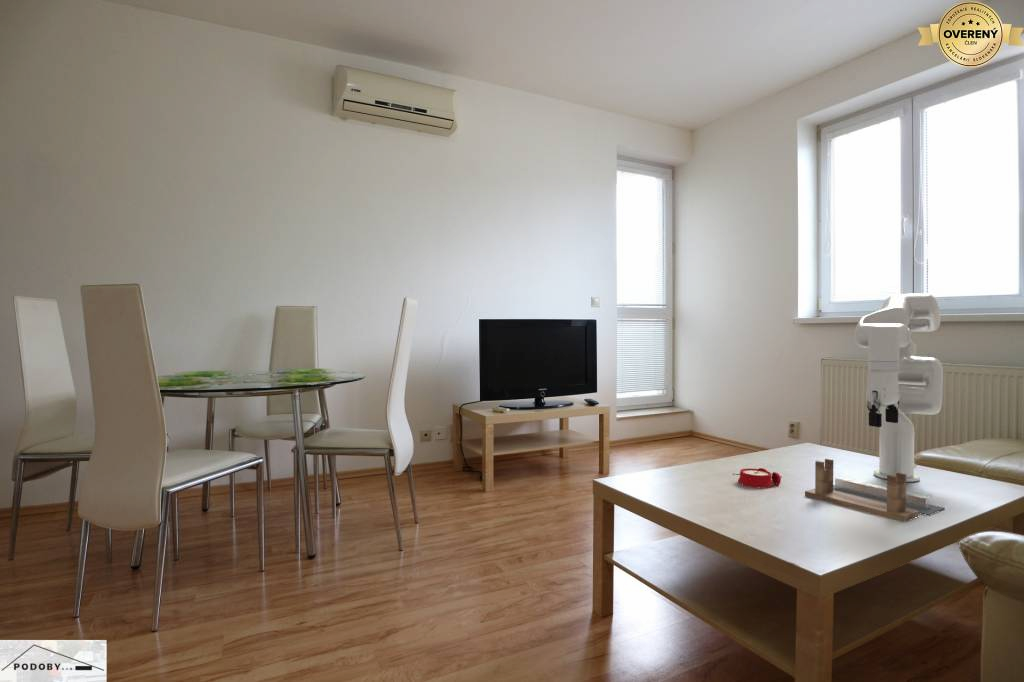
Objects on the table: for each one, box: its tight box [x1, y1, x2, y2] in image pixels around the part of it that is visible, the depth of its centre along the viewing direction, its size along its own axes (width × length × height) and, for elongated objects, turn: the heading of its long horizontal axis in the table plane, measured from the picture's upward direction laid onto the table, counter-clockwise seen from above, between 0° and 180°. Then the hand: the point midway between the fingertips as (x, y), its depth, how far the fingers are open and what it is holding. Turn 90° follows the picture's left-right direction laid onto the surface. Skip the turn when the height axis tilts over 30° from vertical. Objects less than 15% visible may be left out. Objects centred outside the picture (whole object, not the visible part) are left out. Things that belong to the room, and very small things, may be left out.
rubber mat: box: [833, 484, 945, 516], centre depth 157 cm, size 10×28×1 cm, turn 31°
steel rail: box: [834, 476, 932, 510], centre depth 157 cm, size 3×24×3 cm, turn 31°
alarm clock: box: [732, 467, 783, 489], centre depth 174 cm, size 10×6×15 cm
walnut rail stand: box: [804, 458, 920, 523], centre depth 151 cm, size 8×26×11 cm, turn 31°
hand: (883, 424), depth 158 cm, fingers open, 9 cm apart
